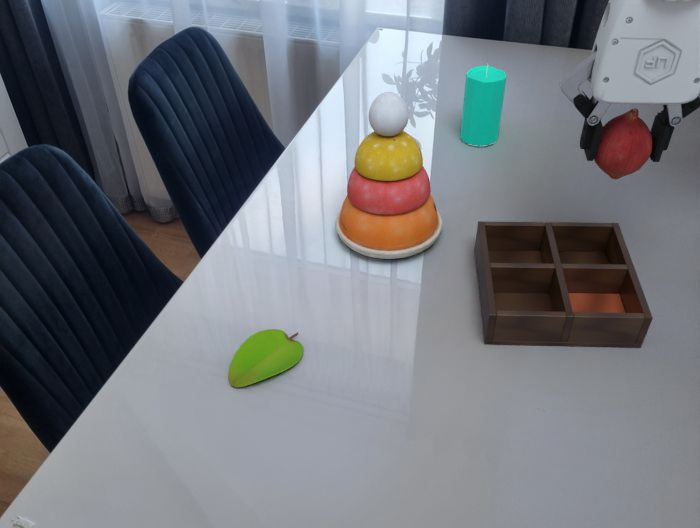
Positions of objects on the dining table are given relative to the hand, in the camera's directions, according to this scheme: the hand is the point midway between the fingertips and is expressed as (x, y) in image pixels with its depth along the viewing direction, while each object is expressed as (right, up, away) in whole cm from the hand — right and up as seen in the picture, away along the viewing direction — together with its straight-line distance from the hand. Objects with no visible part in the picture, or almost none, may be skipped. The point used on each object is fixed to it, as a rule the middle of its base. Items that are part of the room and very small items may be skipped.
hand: (620, 153), depth 72 cm
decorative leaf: (-38, -22, +5) cm, 44 cm away
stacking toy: (-23, -5, +21) cm, 32 cm away
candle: (-8, +13, +38) cm, 41 cm away
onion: (0, -2, +2) cm, 3 cm away
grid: (-4, -14, +11) cm, 18 cm away
